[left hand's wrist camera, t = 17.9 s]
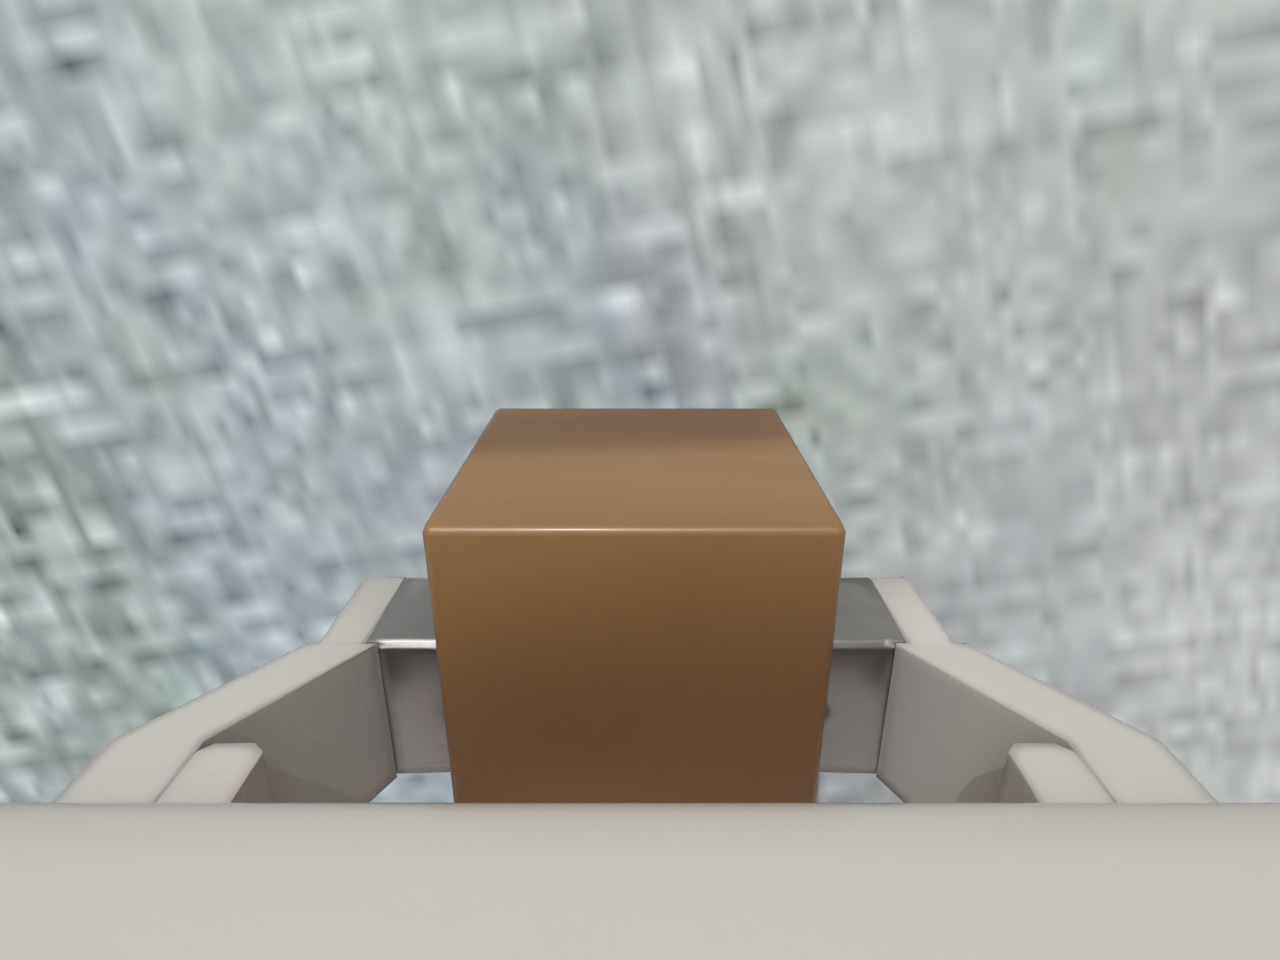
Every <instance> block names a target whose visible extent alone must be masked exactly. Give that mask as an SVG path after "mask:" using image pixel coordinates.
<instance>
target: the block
mask: <svg viewBox="0 0 1280 960" xmlns="http://www.w3.org/2000/svg"><path fill="white" fill-rule="evenodd" d="M845 533H846V532H845V529H844V526H843V524H842V523H841V521H840V519H839V518H838V516H837V514H836V512H835V511H834V509H833V507H832V506H831V504H830V502H829V501H828V499H827V497H826V495H825V494H824V492H823V490H822V489H821V487H820V485H819V484H818V482H817V480H816V479H815V477H814V475H813V473H812V472H811V470H810V468H809V467H808V465H807V463H806V462H805V460H804V458H803V457H802V455H801V453H800V451H799V450H798V448H797V446H796V445H795V443H794V441H793V440H792V438H791V436H790V434H789V433H788V431H787V429H786V428H785V426H784V424H783V423H782V421H781V419H780V418H779V416H778V414H777V412H776V411H775V410H773V409H499V410H497V411H496V412H495V414H494V415H493V417H492V419H491V420H490V422H489V423H488V425H487V427H486V428H485V430H484V431H483V433H482V435H481V436H480V438H479V440H478V441H477V443H476V444H475V446H474V448H473V449H472V451H471V452H470V454H469V456H468V457H467V459H466V460H465V462H464V464H463V465H462V467H461V468H460V470H459V472H458V473H457V475H456V476H455V478H454V480H453V481H452V483H451V485H450V486H449V488H448V489H447V491H446V493H445V494H444V496H443V497H442V499H441V501H440V502H439V504H438V505H437V507H436V509H435V510H434V512H433V513H432V515H431V517H430V518H429V520H428V521H427V523H426V525H425V527H424V530H423V539H424V548H425V556H426V565H427V573H428V582H429V590H430V599H431V607H432V616H433V625H434V633H435V642H436V650H437V659H438V667H439V676H440V684H441V693H442V702H443V710H444V719H445V727H446V736H447V744H448V753H449V761H450V770H451V779H452V787H453V796H454V803H815V802H816V793H817V784H818V775H819V766H820V757H821V748H822V739H823V730H824V721H825V712H826V703H827V694H828V685H829V676H830V668H831V659H832V650H833V641H834V632H835V623H836V614H837V605H838V596H839V587H840V578H841V569H842V560H843V551H844V542H845Z"/></svg>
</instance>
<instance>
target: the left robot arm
mask: <svg viewBox="0 0 1280 960" xmlns="http://www.w3.org/2000/svg"><path fill="white" fill-rule="evenodd" d="M432 772H451V770H450V761H449V753H448V744H447V736H446V727H445V719H444V710H443V702H442V693H441V684H440V676H439V667H438V659H437V650H436V642H435V633H434V625H433V616H432V607H431V599H430V590H429V582H428V578H406V577H384V578H368V579H365V580H364V581H363V582H362V583H361V585H360V586H359V588H358V589H357V590H356V592H355V593H354V595H353V596H352V598H351V599H350V600H349V602H348V603H347V605H346V606H345V608H344V609H343V610H342V612H341V613H340V615H339V616H338V617H337V619H336V620H335V622H334V623H333V625H332V626H331V627H330V629H329V630H328V632H327V633H326V635H325V636H324V637H323V639H322V640H321V642H320V643H307V644H305V645H303V646H301V647H299V648H297V649H295V650H293V651H291V652H289V653H287V654H285V655H283V656H281V657H279V658H277V659H275V660H273V661H271V662H269V663H267V664H265V665H262V666H260V667H258V668H256V669H254V670H252V671H250V672H248V673H246V674H244V675H242V676H240V677H238V678H236V679H234V680H232V681H230V682H228V683H226V684H224V685H222V686H220V687H218V688H216V689H214V690H212V691H210V692H208V693H206V694H204V695H202V696H200V697H198V698H196V699H194V700H192V701H190V702H188V703H185V704H183V705H181V706H179V707H177V708H175V709H173V710H171V711H169V712H167V713H165V714H163V715H161V716H159V717H157V718H155V719H153V720H151V721H149V722H147V723H145V724H143V725H141V726H139V727H137V728H135V729H133V730H131V731H129V732H127V733H125V734H123V735H121V736H119V737H117V738H115V739H113V740H111V741H110V742H109V743H108V744H107V745H106V746H105V747H104V748H103V749H102V750H101V752H100V753H99V754H98V755H97V756H96V757H95V758H94V759H93V760H92V761H91V762H90V763H89V764H88V765H87V766H86V767H85V768H84V769H83V770H82V771H81V773H80V774H79V775H78V776H77V777H76V778H75V779H74V780H73V781H72V782H71V783H70V784H69V785H68V786H67V787H66V788H65V789H64V790H63V791H62V792H61V793H60V795H59V796H58V797H57V798H56V799H55V800H54V801H53V802H52V803H0V960H1280V803H1218V802H1217V801H1216V800H1215V798H1214V797H1213V796H1212V795H1211V794H1210V793H1209V792H1208V791H1207V790H1206V789H1205V788H1204V787H1203V786H1202V784H1201V783H1200V782H1199V781H1198V780H1197V779H1196V778H1195V777H1194V776H1193V775H1192V774H1191V773H1190V772H1189V770H1188V769H1187V768H1186V767H1185V766H1184V765H1183V764H1182V763H1181V762H1180V761H1179V760H1178V759H1177V758H1176V757H1175V755H1174V754H1173V753H1172V752H1171V751H1170V750H1169V749H1168V748H1167V747H1166V746H1165V745H1164V744H1163V743H1162V741H1160V740H1158V739H1156V738H1154V737H1152V736H1150V735H1148V734H1146V733H1144V732H1142V731H1140V730H1138V729H1136V728H1134V727H1132V726H1130V725H1128V724H1126V723H1124V722H1122V721H1120V720H1118V719H1116V718H1114V717H1112V716H1110V715H1108V714H1106V713H1104V712H1102V711H1100V710H1098V709H1096V708H1094V707H1092V706H1090V705H1088V704H1086V703H1084V702H1082V701H1080V700H1078V699H1076V698H1074V697H1072V696H1070V695H1068V694H1066V693H1064V692H1062V691H1060V690H1058V689H1056V688H1054V687H1052V686H1050V685H1048V684H1046V683H1044V682H1042V681H1040V680H1038V679H1036V678H1034V677H1032V676H1030V675H1028V674H1026V673H1024V672H1022V671H1020V670H1018V669H1016V668H1014V667H1012V666H1010V665H1008V664H1006V663H1004V662H1002V661H1000V660H998V659H996V658H994V657H992V656H990V655H988V654H986V653H984V652H982V651H980V650H978V649H976V648H974V647H972V646H970V645H968V644H966V643H953V642H952V640H951V639H950V638H949V636H948V635H947V633H946V632H945V630H944V629H943V627H942V626H941V625H940V623H939V622H938V620H937V619H936V617H935V616H934V615H933V613H932V612H931V610H930V609H929V607H928V606H927V604H926V603H925V602H924V600H923V599H922V597H921V596H920V594H919V593H918V592H917V590H916V589H915V587H914V586H913V584H912V583H911V581H910V580H909V579H907V578H904V577H887V578H840V587H839V596H838V605H837V614H836V623H835V632H834V641H833V650H832V659H831V668H830V676H829V685H828V694H827V703H826V712H825V721H824V730H823V739H822V748H821V757H820V766H819V772H840V773H877V775H876V777H877V778H878V779H880V780H881V781H882V782H883V783H884V784H885V785H886V786H887V787H888V788H889V789H890V790H891V791H892V792H894V793H895V794H896V795H897V796H898V797H899V798H900V799H901V800H902V801H903V802H904V803H369V802H370V801H371V800H372V799H374V798H375V797H376V796H377V795H378V794H379V793H380V792H381V791H382V790H383V789H384V788H386V787H387V786H388V785H389V784H390V783H391V782H392V781H393V780H394V779H395V778H396V777H397V775H396V773H432Z"/></svg>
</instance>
